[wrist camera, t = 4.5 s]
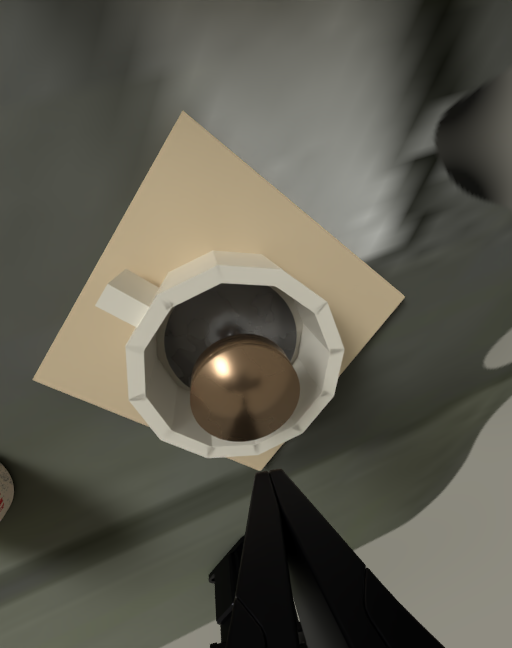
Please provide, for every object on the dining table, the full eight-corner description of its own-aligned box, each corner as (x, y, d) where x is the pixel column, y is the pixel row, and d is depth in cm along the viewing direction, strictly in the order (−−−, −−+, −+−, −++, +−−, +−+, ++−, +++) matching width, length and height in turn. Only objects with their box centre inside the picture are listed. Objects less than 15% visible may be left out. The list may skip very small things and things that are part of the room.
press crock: (398, 293, 22) (462, 321, 16) (258, 463, 25) (274, 531, 20) (183, 115, 16) (175, 66, 10) (38, 373, 19) (-23, 436, 14)
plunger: (318, 319, 20) (369, 367, 14) (247, 411, 22) (266, 488, 16) (212, 247, 17) (219, 268, 11) (140, 359, 19) (112, 430, 13)
